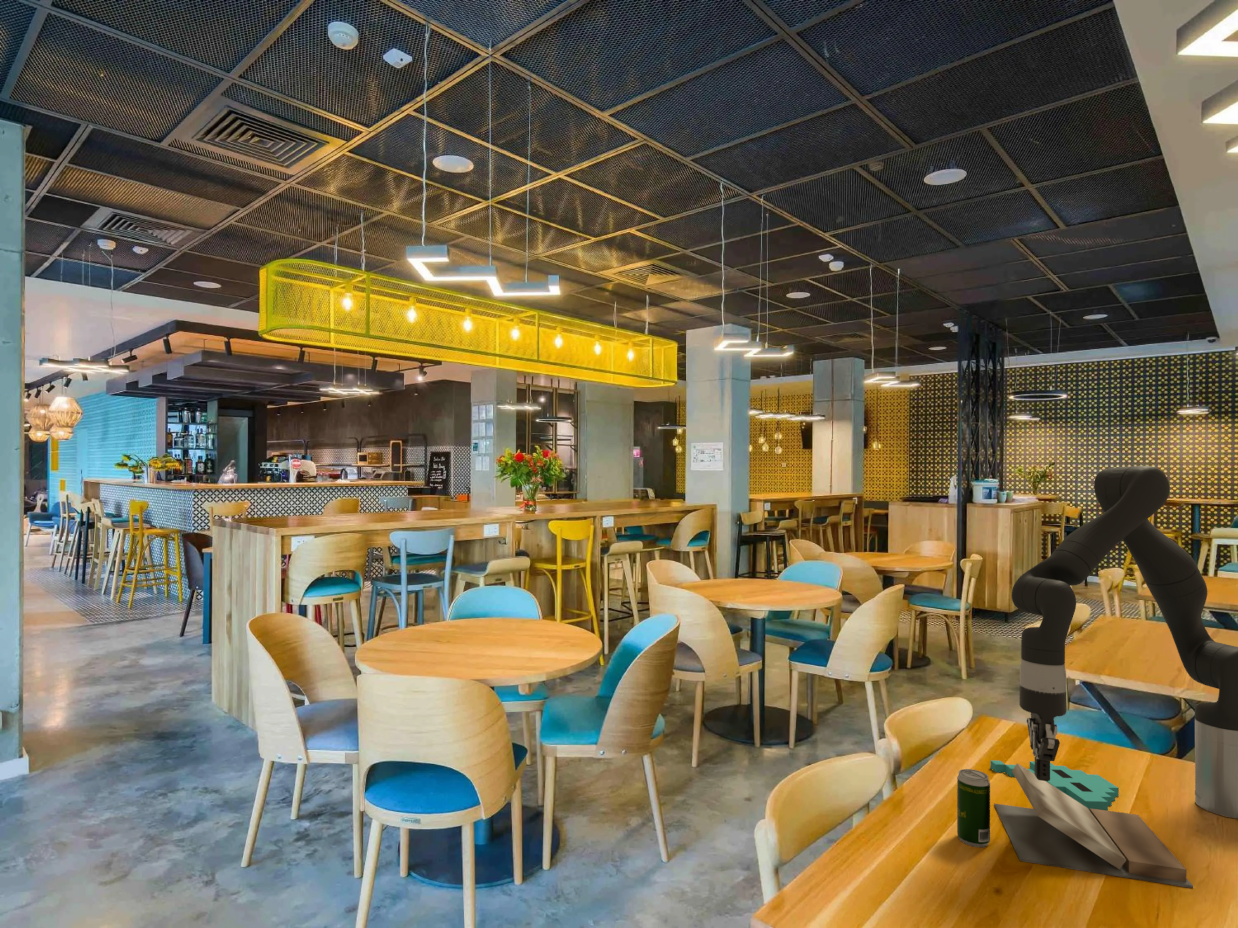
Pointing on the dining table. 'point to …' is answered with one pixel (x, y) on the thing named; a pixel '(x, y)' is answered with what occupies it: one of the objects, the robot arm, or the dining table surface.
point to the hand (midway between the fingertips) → (1042, 778)
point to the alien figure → (1073, 784)
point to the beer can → (973, 808)
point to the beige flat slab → (1067, 816)
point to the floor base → (1060, 850)
